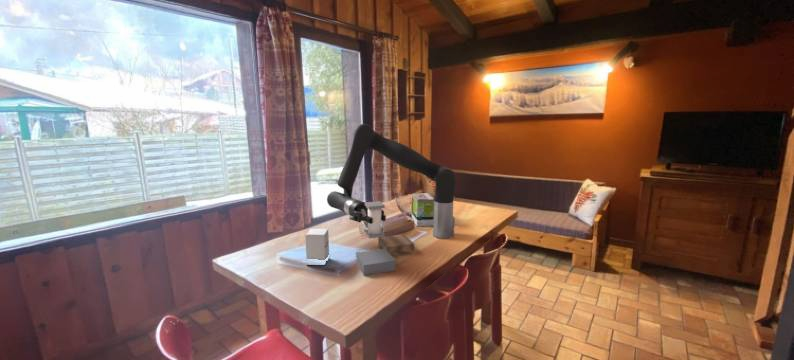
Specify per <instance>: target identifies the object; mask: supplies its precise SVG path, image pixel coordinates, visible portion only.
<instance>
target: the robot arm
mask: <svg viewBox="0 0 794 360" xmlns="http://www.w3.org/2000/svg"><path fill="white" fill-rule="evenodd" d="M368 149H371V150H374V151H375V152H378V153H380V154H381V155H382V156H384V157H385V158H387V159H388V160H389V161H391V162H393V163H394V164H397V165H399V166H401V167H402V168H405V169H407V170H409V171H413V172H415V173H419V174H422V175H423V176H425V177H426V178H428V179H430V180H431V181H433V182H434V183H435V193H434V195H433V198H434V215H433V226H432V236H433V237H435V238H437V239H442V240H443V239H444V240H446V239H450V238H452V237H455V219H456V218H455V217H454V200H455V199H454V198H455V196H456V183H457V180H456V179H457V177H456V174H455V172H454V170H452V169H450V168H449V167H447V166H443V165H442V164H441V165H440V164H438V163H436V162H433V161H432V160H430V159H428V158H426V157H425V156H424V155H422V154H421V153H419V152H418V151H417V150H414V149H413V148H411V147H409V146H407V145H405V144H404V143H403V144H402V143H401V142H399V141H394V140H392V139H389V138H387V137H384V136H383V135H381V134H379V133H378V132H376V131H375V130H374V128H373V127H372V126H371V125H369V124H367V123H362V124H359V125H357V126H356V127H355V129H354V131H353V139H352V145H351V147H350V150H349V153H348V156H347V158H346V161H345V162H344V165H343V168H342V170H341V173H340V174H339V177H338V180H337V186H338V187H339V188H341V189H343V193H342V192H339V191H330V193H329V194H328V195H327V198H326V202H327V204H328V206H329V207H330V208H333V209H335V210H339V211H341V212H343V213H345V214H346V215H348V216H349V220H351V221H354V222H358V223H362V222H364V223H367V224H368V223H370V224H372V223H373V219H372V217H370V216H368V208H367V207H366V206H365V202H364V201H362V200H360V199H357V198H355V197H354V198H353V197H352V196H353V187H354V184H355V183H356V180H357V177H358V173H359V171H360V168H361V165H362V162H363V158H364V156H365V154H366V152H367V150H368ZM386 220H387V216H386V214H385V210H384V209H383V208H381V222H386Z"/></svg>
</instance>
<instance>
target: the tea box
mask: <svg viewBox="0 0 794 360" xmlns="http://www.w3.org/2000/svg"><path fill="white" fill-rule="evenodd" d="M411 195H412V197H411V219H412V221H413V220H414V221H413V222H414V223H415V226H417V227H429V226H430V227H431V226H432V227H433V215H434V196H433V195H431V194H430V193H427V192H425V193H423V192H421V193H419V192H418V193H411Z"/></svg>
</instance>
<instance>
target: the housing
mask: <svg viewBox="0 0 794 360" xmlns="http://www.w3.org/2000/svg"><path fill="white" fill-rule="evenodd" d="M365 206H366V207H367V208H368V216H370V217H372V219H373V223H372V224H370V223H367V230H364V234H365V235H366V236H367V238H368V239H375V238H378V237H385V236H386V235H385V233H384V231H382V220H381V209H385V208H386V207H385V204H384V203H383V202H381V201H380V200H378V201H368V202H367V201H366V202H365Z"/></svg>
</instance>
